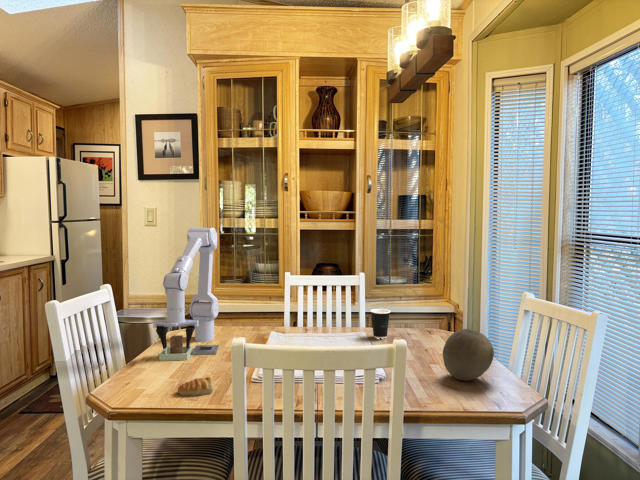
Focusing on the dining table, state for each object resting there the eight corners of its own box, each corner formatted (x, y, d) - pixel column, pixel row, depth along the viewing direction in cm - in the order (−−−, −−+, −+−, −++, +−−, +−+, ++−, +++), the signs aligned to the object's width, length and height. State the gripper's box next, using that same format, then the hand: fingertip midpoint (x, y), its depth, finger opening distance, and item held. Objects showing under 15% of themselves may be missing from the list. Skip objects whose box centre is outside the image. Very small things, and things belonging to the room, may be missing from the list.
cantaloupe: (459, 390, 131) (460, 337, 130) (434, 373, 144) (434, 325, 143) (502, 385, 134) (503, 334, 134) (473, 369, 148) (474, 323, 147)
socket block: (196, 350, 167) (196, 345, 167) (218, 350, 167) (218, 345, 167) (192, 357, 159) (192, 352, 159) (215, 357, 159) (215, 351, 159)
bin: (166, 355, 161) (166, 346, 161) (192, 354, 162) (192, 346, 162) (159, 363, 152) (159, 354, 152) (187, 362, 153) (187, 353, 153)
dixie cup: (387, 341, 181) (388, 313, 180) (368, 339, 183) (368, 311, 183) (391, 336, 188) (392, 309, 187) (372, 334, 191) (373, 308, 190)
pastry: (179, 399, 123) (179, 385, 123) (175, 391, 130) (175, 377, 129) (214, 394, 127) (214, 380, 127) (209, 386, 134) (209, 372, 133)
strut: (170, 358, 156) (170, 338, 155) (172, 355, 159) (172, 335, 159) (180, 358, 156) (180, 338, 156) (182, 355, 159) (182, 335, 159)
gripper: (150, 310, 152) (151, 351, 152) (195, 310, 153) (196, 350, 154) (156, 306, 159) (156, 345, 160) (199, 306, 160) (199, 344, 161)
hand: (176, 347), depth 157 cm, fingers open, 7 cm apart
